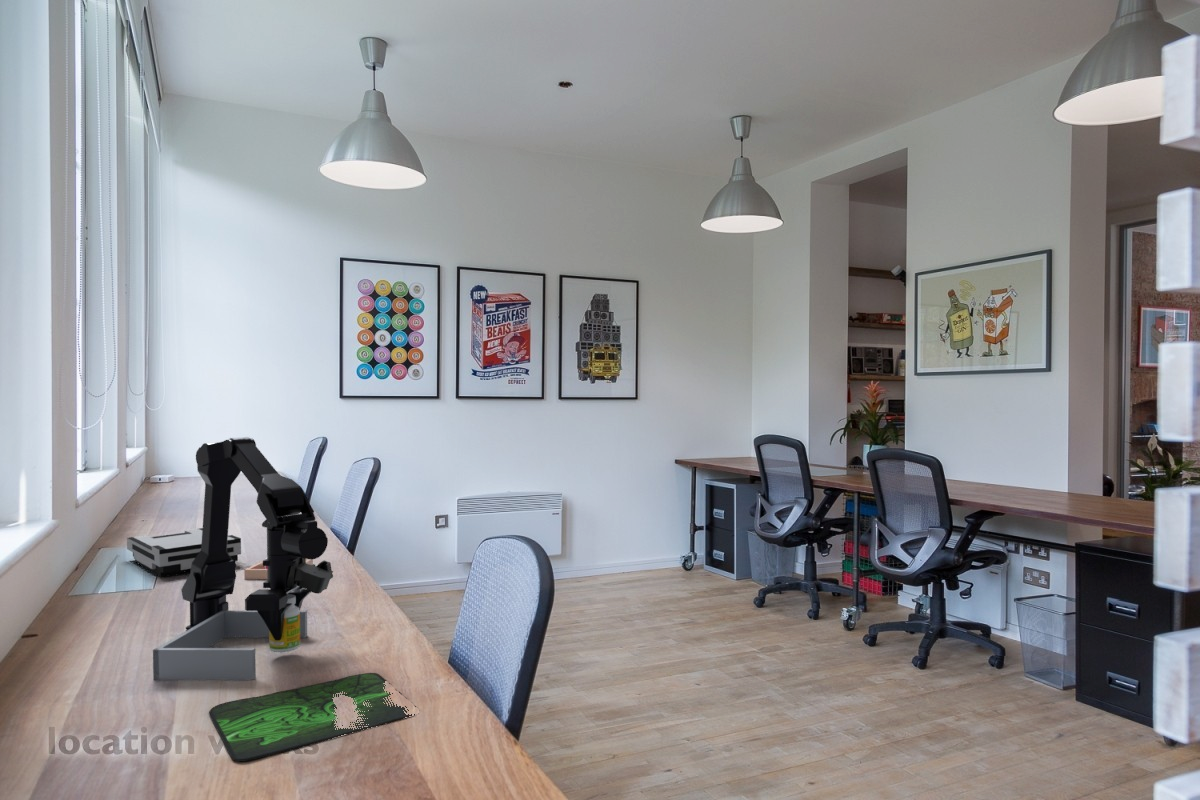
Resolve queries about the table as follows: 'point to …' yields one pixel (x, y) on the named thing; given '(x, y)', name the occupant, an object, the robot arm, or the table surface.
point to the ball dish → (262, 570)
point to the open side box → (214, 649)
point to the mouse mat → (299, 716)
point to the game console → (173, 551)
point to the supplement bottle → (288, 629)
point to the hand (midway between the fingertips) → (284, 634)
